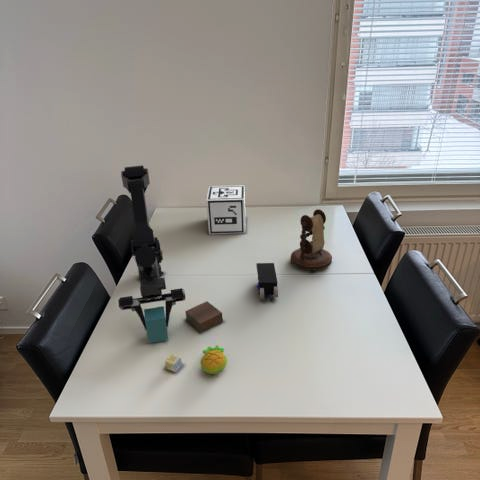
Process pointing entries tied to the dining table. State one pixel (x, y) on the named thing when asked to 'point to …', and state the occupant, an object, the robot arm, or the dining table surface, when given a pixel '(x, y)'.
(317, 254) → the brown upright piece
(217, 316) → the walnut base
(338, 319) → the dining table surface
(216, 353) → the toy pineapple
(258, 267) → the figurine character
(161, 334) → the teal block
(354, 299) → the dining table surface
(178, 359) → the alphabet block
